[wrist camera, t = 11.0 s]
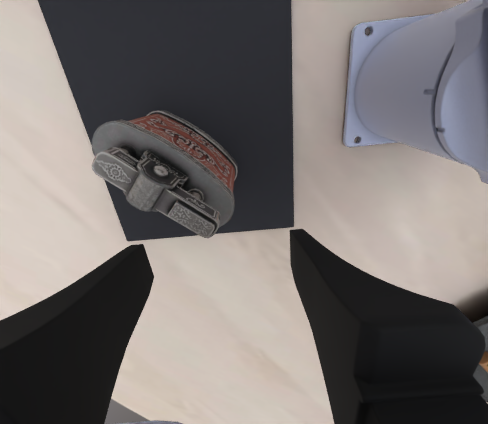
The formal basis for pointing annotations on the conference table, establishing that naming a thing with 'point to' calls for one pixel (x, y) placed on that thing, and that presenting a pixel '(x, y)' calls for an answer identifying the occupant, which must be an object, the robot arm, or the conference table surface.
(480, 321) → the serving tray
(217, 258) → the conference table surface
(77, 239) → the conference table surface
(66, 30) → the desk mat
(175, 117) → the lighter
